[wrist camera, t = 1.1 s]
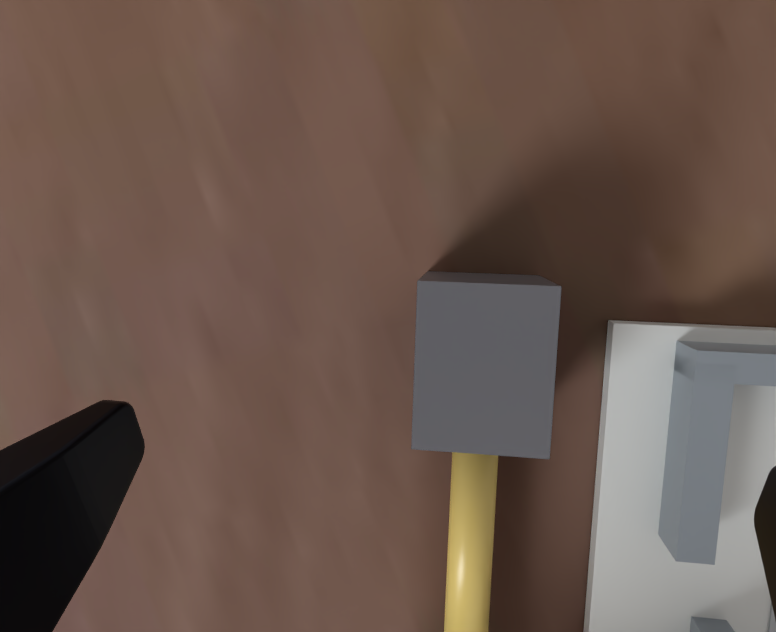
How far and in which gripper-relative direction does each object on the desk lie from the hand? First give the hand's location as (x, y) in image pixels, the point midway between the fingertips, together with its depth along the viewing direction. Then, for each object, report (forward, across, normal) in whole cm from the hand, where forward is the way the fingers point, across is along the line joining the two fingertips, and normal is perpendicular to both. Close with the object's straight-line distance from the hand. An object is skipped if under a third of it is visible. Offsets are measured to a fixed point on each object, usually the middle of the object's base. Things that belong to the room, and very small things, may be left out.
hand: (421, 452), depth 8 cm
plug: (+10, 0, +11) cm, 15 cm away
